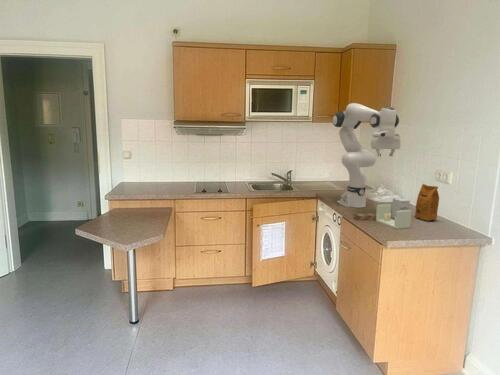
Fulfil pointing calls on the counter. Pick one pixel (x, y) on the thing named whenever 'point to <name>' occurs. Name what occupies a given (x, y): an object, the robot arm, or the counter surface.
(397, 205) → the supplement box
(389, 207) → the pegged wall bracket
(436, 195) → the coffee package
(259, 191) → the counter surface
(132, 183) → the counter surface
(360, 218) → the brown wooden block
